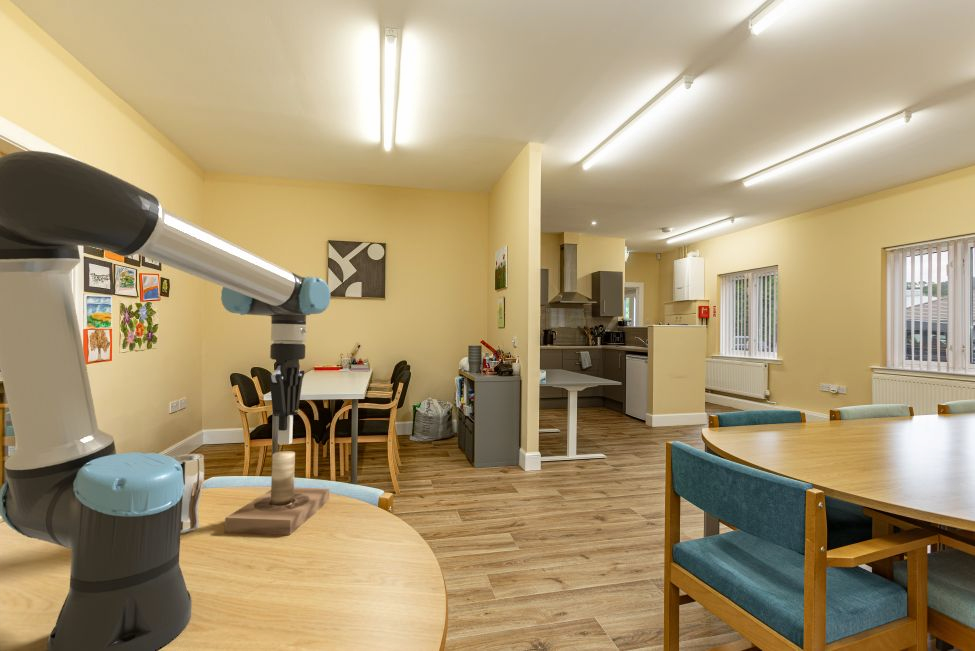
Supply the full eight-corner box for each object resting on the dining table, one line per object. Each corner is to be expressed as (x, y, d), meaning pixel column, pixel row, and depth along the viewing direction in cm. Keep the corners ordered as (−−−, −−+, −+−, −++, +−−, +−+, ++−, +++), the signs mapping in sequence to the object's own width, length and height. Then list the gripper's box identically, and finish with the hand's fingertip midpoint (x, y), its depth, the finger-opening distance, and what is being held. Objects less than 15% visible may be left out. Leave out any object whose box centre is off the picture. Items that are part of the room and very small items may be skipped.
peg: (286, 519, 100) (289, 456, 100) (265, 518, 100) (268, 456, 100) (296, 510, 104) (298, 451, 105) (276, 510, 104) (278, 450, 105)
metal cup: (186, 536, 90) (190, 462, 91) (153, 535, 90) (157, 461, 91) (209, 522, 97) (212, 453, 98) (178, 521, 97) (181, 453, 98)
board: (290, 534, 92) (290, 520, 92) (224, 532, 92) (225, 517, 92) (328, 500, 112) (329, 488, 112) (275, 498, 112) (275, 486, 112)
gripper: (290, 343, 97) (286, 450, 96) (315, 342, 110) (313, 437, 109) (257, 342, 97) (253, 449, 96) (286, 342, 110) (283, 437, 109)
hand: (284, 443), depth 103 cm, fingers closed
